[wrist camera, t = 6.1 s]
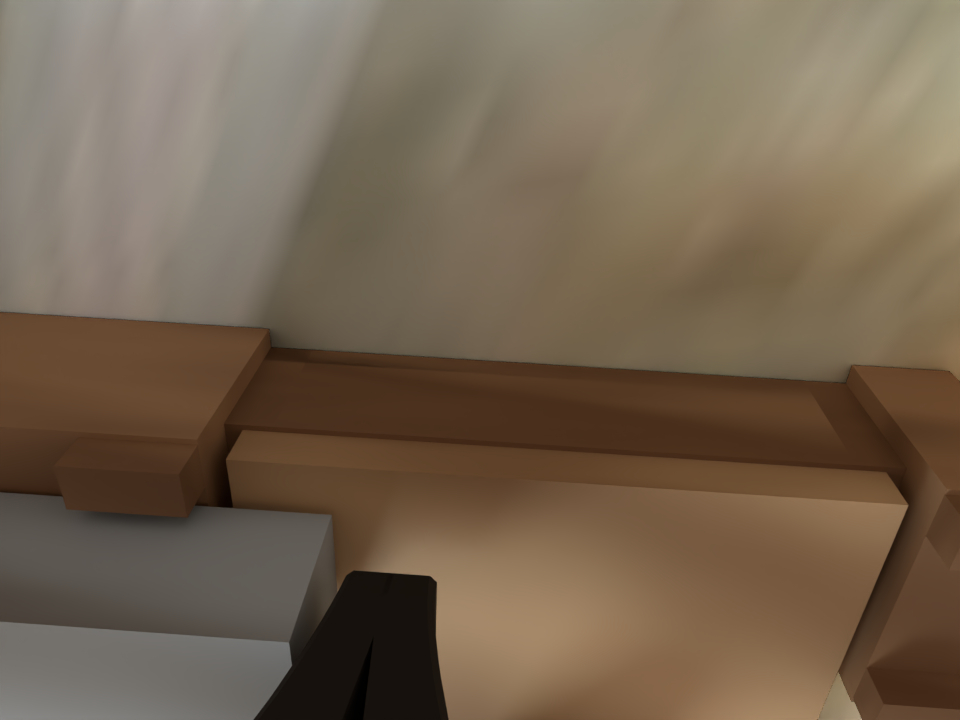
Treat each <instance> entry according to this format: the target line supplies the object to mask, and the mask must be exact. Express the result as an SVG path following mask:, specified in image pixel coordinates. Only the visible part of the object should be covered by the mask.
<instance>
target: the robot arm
mask: <svg viewBox="0 0 960 720" xmlns="http://www.w3.org/2000/svg"><path fill="white" fill-rule="evenodd" d="M436 608H437V582H436V581H435V580H434V579H433V578H432V577H431V576H425V575H411V574H397V573H383V572H369V571H355V570H353V571H352V572H350V573H349V574H347V575H346V577H345V579H344V581H343V583H342V585H341V587H340V588H339V590H338V592H337V594H336V596H335V598H334V599H333V601H332V603H331V605H330V607H329V608H328V610H327V612H326V613H325V615H324V617H323V618H322V620H321V622H320V623H319V625H318V627H317V628H316V630H315V631H314V633H313V635H312V636H311V638H310V639H309V641H308V642H307V644H306V646H305V647H304V649H303V650H302V652H301V653H300V655H299V656H298V658H297V659H296V661H295V662H294V664H293V665H292V666H291V668H290V669H289V671H288V672H287V674H286V675H285V677H284V678H283V680H282V681H281V683H280V684H279V685H278V687H277V688H276V690H275V691H274V693H273V694H272V696H271V697H270V698H269V700H268V701H267V702H266V704H265V705H264V706H263V708H262V709H261V710H260V712H259V713H258V714H257V716H256V717H255V718H254V720H449V718H448V713H447V707H446V702H445V696H444V691H443V685H442V680H441V674H440V667H439V660H438V650H437V641H436Z"/></svg>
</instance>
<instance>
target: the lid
mask: <svg viewBox="0 0 960 720" xmlns="http://www.w3.org/2000/svg"><path fill="white" fill-rule="evenodd" d="M226 464H227V471H228V477H229V483H230V490H231V496H232V502H233V508H237V509H252V510H266V511H281V512H296V513H310V514H325V515H332V525H333V539H334V553H335V566H336V580H337V592H338V590H339V588H340V587H341V585H342V583H343V581H344V579H345V577H346V575H347V574H349V573H350V572H352V571H353V570H355V571H369V572H383V573H397V574H411V575H425V576H431V577H432V578H433V579H434V580H435V581H436V582H437V608H436V641H437V650H438V660H439V667H440V674H441V680H442V685H443V691H444V696H445V702H446V707H447V713H448V718H449V720H818V717H819V715H820V713H821V710H822V708H823V706H824V703H825V701H826V699H827V696H828V694H829V692H830V689H831V687H832V684H833V682H834V680H835V677H836V675H837V673H838V670H839V668H840V666H841V663H842V661H843V659H844V656H845V654H846V652H847V649H848V647H849V644H850V642H851V640H852V637H853V635H854V633H855V630H856V628H857V626H858V623H859V621H860V619H861V616H862V614H863V611H864V609H865V607H866V604H867V602H868V600H869V597H870V595H871V593H872V590H873V588H874V586H875V583H876V581H877V578H878V576H879V574H880V571H881V569H882V567H883V564H884V562H885V560H886V557H887V555H888V553H889V550H890V548H891V546H892V543H893V541H894V538H895V536H896V534H897V531H898V529H899V527H900V524H901V522H902V520H903V517H904V515H905V513H906V510H907V508H908V504H907V502H906V501H905V499H904V498H903V496H902V495H901V493H900V492H899V490H898V489H897V487H896V486H895V484H894V483H893V481H892V480H891V478H890V477H889V476H888V474H887V473H886V472H877V471H862V470H846V469H831V468H816V467H801V466H785V465H770V464H755V463H740V462H724V461H709V460H694V459H679V458H663V457H648V456H633V455H618V454H602V453H587V452H572V451H557V450H541V449H526V448H511V447H496V446H480V445H465V444H450V443H435V442H419V441H404V440H389V439H374V438H358V437H343V436H328V435H313V434H297V433H282V432H267V431H252V430H242V432H241V434H240V436H239V437H238V439H237V441H236V443H235V444H234V446H233V448H232V450H231V451H230V453H229V455H228V457H227V458H226Z"/></svg>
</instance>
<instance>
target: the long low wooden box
mask: <svg viewBox="0 0 960 720" xmlns="http://www.w3.org/2000/svg"><path fill="white" fill-rule="evenodd" d="M242 430H252V431H267V432H282V433H297V434H313V435H328V436H343V437H358V438H374V439H389V440H404V441H419V442H435V443H450V444H465V445H480V446H496V447H511V448H526V449H541V450H557V451H572V452H587V453H602V454H618V455H633V456H648V457H663V458H679V459H694V460H709V461H724V462H740V463H755V464H770V465H785V466H801V467H816V468H831V469H846V470H862V471H877V472H886V473H887V474H888V476H889V477H890V478H891V480H892V481H893V483H894V484H895V486H896V487H897V489H898V490H899V492H900V493H901V495H902V496H903V498H904V499H905V501H906V502H907V504H908V508H907V510H906V513H905V515H904V517H903V520H902V522H901V524H900V527H899V529H898V531H897V534H896V536H895V538H894V541H893V543H892V546H891V548H890V550H889V553H888V555H887V557H886V560H885V562H884V564H883V567H882V569H881V571H880V574H879V576H878V578H877V581H876V583H875V586H874V588H873V590H872V593H871V595H870V597H869V600H868V602H867V604H866V607H865V609H864V611H863V614H862V616H861V619H860V621H859V623H858V626H857V628H856V630H855V633H854V635H853V637H852V640H851V642H850V644H849V647H848V649H847V652H846V654H845V656H844V659H843V661H842V663H841V666H840V668H839V670H838V672H839V674H840V676H841V679H842V681H843V683H844V686H845V688H846V690H847V693H848V695H849V697H850V700H851V701H853V702H855V704H856V706H857V709H858V711H859V713H860V715H861V718H862V720H960V381H959V380H958V379H957V378H956V377H955V376H954V375H953V374H952V373H951V372H950V371H936V370H920V369H904V368H888V367H872V366H856V365H852V367H851V370H850V373H849V376H848V379H847V382H846V383H830V382H814V381H798V380H782V379H767V378H751V377H735V376H719V375H703V374H687V373H671V372H655V371H639V370H623V369H607V368H591V367H576V366H560V365H544V364H528V363H512V362H496V361H480V360H464V359H448V358H432V357H416V356H400V355H384V354H369V353H353V352H337V351H321V350H305V349H289V348H273V347H271V342H270V333H269V329H261V328H245V327H229V326H213V325H197V324H181V323H165V322H149V321H133V320H117V319H101V318H84V317H68V316H52V315H36V314H20V313H4V312H0V492H3V493H17V494H32V495H47V496H61V497H63V500H64V503H65V506H66V509H67V510H82V511H96V512H111V513H125V514H140V515H155V516H169V517H184V518H188V516H189V514H190V513H191V511H192V509H193V507H194V506H208V507H222V508H233V502H232V496H231V490H230V483H229V477H228V471H227V464H226V458H227V457H228V455H229V453H230V451H231V450H232V448H233V446H234V444H235V443H236V441H237V439H238V437H239V436H240V434H241V432H242Z"/></svg>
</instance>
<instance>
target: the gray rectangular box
mask: <svg viewBox="0 0 960 720" xmlns="http://www.w3.org/2000/svg"><path fill="white" fill-rule="evenodd" d="M336 594H337V580H336V566H335V553H334V539H333V525H332V515H325V514H310V513H296V512H281V511H266V510H252V509H237V508H222V507H208V506H194V507H193V509H192V511H191V513H190V514H189V516H188V518H184V517H169V516H155V515H140V514H125V513H111V512H96V511H82V510H67V509H66V506H65V503H64V500H63V497H61V496H47V495H32V494H17V493H3V492H0V720H254V718H255V717H256V716H257V714H258V713H259V712H260V710H261V709H262V708H263V706H264V705H265V704H266V702H267V701H268V700H269V698H270V697H271V696H272V694H273V693H274V691H275V690H276V688H277V687H278V685H279V684H280V683H281V681H282V680H283V678H284V677H285V675H286V674H287V672H288V671H289V669H290V668H291V666H292V665H293V664H294V662H295V661H296V659H297V658H298V656H299V655H300V653H301V652H302V650H303V649H304V647H305V646H306V644H307V642H308V641H309V639H310V638H311V636H312V635H313V633H314V631H315V630H316V628H317V627H318V625H319V623H320V622H321V620H322V618H323V617H324V615H325V613H326V612H327V610H328V608H329V607H330V605H331V603H332V601H333V599H334V598H335V596H336Z"/></svg>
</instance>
